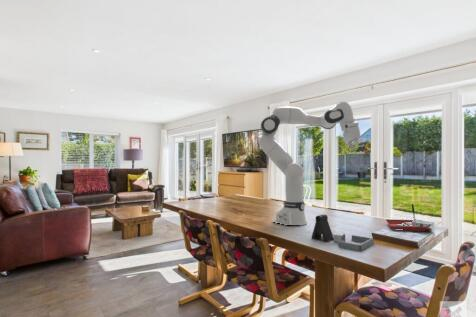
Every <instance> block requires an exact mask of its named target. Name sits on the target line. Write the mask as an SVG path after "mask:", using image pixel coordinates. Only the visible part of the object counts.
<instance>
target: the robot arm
mask: <svg viewBox="0 0 476 317" xmlns="http://www.w3.org/2000/svg"><path fill="white" fill-rule="evenodd" d="M282 124H283V125H285V124H286V125H308V126H315V127H317V126H318V127H321V128H322V129H325V130H331V129H333V128H335V127H336V125H337V124H339V125H340V129H341V132H342V138H343V143H344V144H345V145H348V147H349V150H354V148H357V147H359V146H360V145H359V139H360V138H361V131H360V127H359V122H358V121H356V120H355V117H354V113H353V110H352V106H351V105H350V103H349V102H347V101H340V102H338V103H336V104H335V105H334V106H333V107H332V108H330V109H327V111H325V113H324V114H323V115H312V114H307V113H306V112H304V110H303V109H302V108H301V107H298V106H297V107H296V106H278V107H276V108H274V109H273V111H272V114H271V115H269V116H266V117H265V118H264V119H263V120H262V121H261V122H260V130H261V132H262V136H260V138H259V139H258V146H259V147H260V149H261V150H262V152H263V153H264V154H265V155H266V156H267V157H268V158H269V160H271V161H272V162H273V164H274V165H276V167H277V168H278V169H279V170H280V171H281V173H282V174H283V175H284V176H285V201H284V202H283V207H282V208H281V209H279V211H277V212H276V214H275V219H274V220H275V221H274V222H277V223H281V224H284V225H283V226H285V225H300V226H305V224H306V225H307V224H308V222H307V220H306V214H305V201H304V168H303V166H302V165H301V164H300V163H297V162H296V161H295V159H293V157H292V156H291V155H290V153H289V152H288V151H287V150H286V149H285V148H284V147H283V146H282V145H281V143H279V142H278V141H277V139H276V138H275V135H276V133H277V131H278V129H279V126H280V125H282ZM353 143H354V145H353ZM277 223H276V224H277ZM281 224H280V225H281Z"/></svg>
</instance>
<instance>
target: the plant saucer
mask: <svg viewBox="0 0 476 317" xmlns="http://www.w3.org/2000/svg"><path fill="white" fill-rule="evenodd" d="M413 220H414V219H385V222H386V223H387V224H388V226H390V228H391V229H392V230H393V229H403V230H420V231H419V232H426V231H427V230H428V229H429V226H428V225H427V224H426V227H416V226H397V224H402V223H404V222H412V221H413ZM418 220H419V219H418ZM419 221H421V220H419Z"/></svg>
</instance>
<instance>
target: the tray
mask: <svg viewBox="0 0 476 317" xmlns="http://www.w3.org/2000/svg"><path fill="white" fill-rule="evenodd" d="M351 241H354V242H358V243H359V242H360V244H357V243H352V242H348V241H347V242H342V241H338V243H337V244H338V247H339V248H341V249H347V250H351V251H357V252H362V251H364V250H366V249H367V248H369V247H370V246H372V245H374V243H375V242H374V237H373V238H372V237H368V236H361V235H356V234H352V235H351Z"/></svg>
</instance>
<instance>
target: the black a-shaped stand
mask: <svg viewBox="0 0 476 317" xmlns="http://www.w3.org/2000/svg"><path fill="white" fill-rule="evenodd" d="M328 219H329V218H328V215H327V214H325V213H324V214H320V215H319V214H318V215H316V216H315V224H314V227H313V231H312V234H311V239H312V240H316V241H321V242H324V243H329V242H331V241H334V236H333V231H332V230H331V227H330V224H329V220H328Z"/></svg>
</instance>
